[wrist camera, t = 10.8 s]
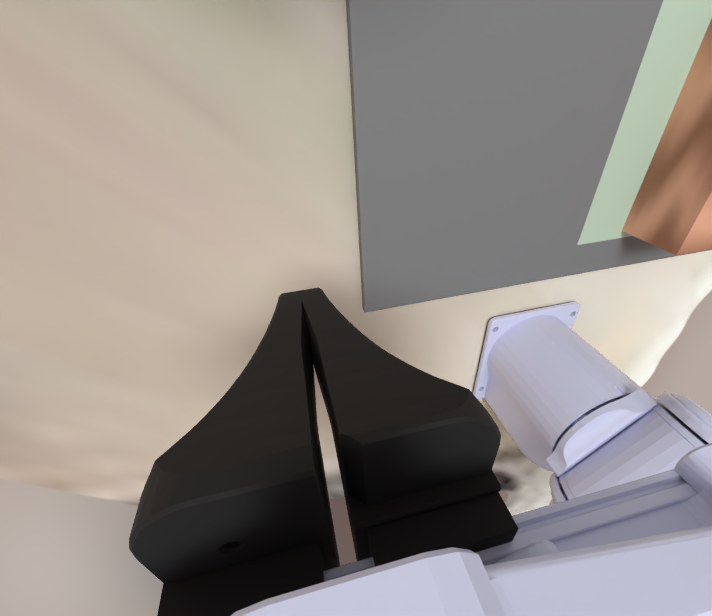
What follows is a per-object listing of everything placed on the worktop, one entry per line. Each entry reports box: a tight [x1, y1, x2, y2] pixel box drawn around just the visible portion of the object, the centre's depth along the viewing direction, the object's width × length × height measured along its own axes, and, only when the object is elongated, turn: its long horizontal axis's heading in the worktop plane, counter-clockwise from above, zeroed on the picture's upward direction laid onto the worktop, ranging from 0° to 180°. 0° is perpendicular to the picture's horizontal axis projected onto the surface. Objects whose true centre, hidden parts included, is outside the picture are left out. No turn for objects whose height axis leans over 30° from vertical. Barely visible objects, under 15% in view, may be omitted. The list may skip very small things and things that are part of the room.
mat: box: [346, 0, 712, 312], centre depth 20 cm, size 18×30×1 cm, turn 93°
